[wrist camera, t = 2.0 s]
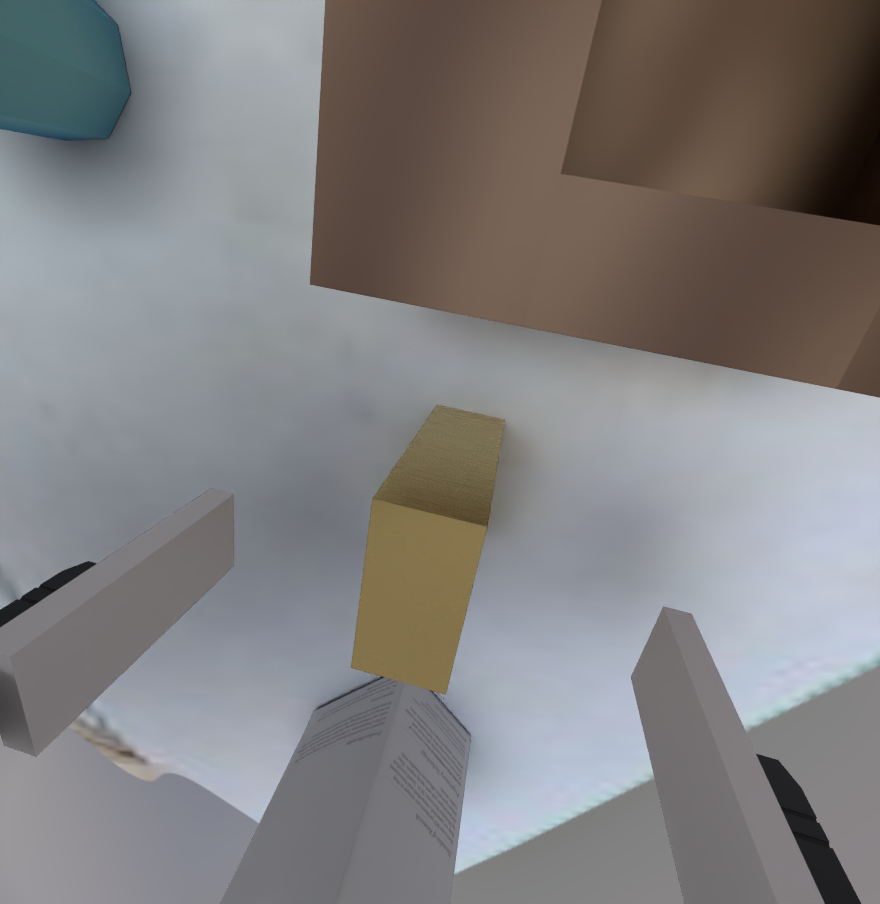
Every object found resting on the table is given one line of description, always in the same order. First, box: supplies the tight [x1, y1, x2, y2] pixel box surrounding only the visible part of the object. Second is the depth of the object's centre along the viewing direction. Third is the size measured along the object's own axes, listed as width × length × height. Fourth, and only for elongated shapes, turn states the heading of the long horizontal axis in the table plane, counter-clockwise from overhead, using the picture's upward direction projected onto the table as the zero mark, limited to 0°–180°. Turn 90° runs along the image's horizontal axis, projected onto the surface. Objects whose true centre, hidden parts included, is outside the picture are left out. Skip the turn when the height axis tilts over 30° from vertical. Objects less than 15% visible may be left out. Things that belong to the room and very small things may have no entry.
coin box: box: [310, 0, 880, 397], centre depth 10 cm, size 14×14×10 cm
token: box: [351, 405, 505, 695], centre depth 17 cm, size 3×6×9 cm, turn 170°
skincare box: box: [220, 677, 471, 904], centre depth 21 cm, size 8×7×16 cm
